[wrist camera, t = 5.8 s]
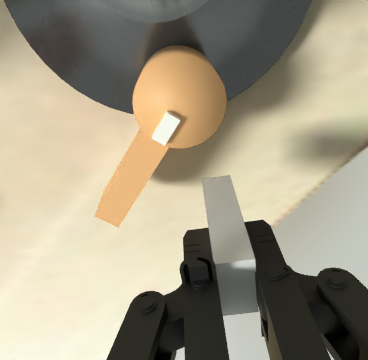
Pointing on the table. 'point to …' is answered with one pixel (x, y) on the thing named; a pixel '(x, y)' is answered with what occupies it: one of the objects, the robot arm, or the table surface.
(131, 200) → the knob
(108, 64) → the base
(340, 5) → the table surface
